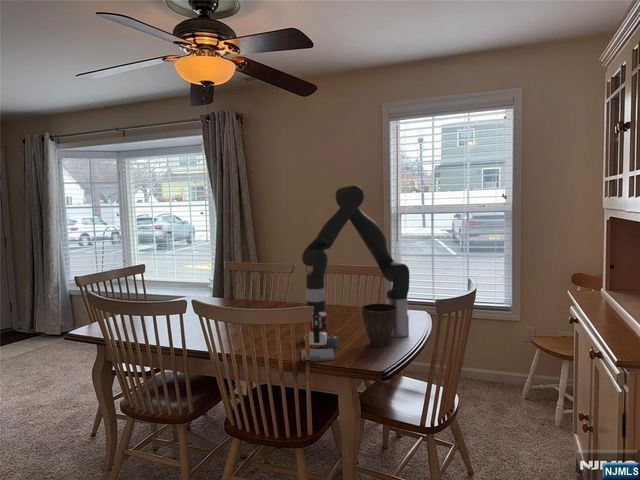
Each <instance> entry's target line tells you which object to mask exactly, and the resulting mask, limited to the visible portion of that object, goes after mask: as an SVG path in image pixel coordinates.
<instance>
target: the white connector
mask: <svg viewBox="0 0 640 480" xmlns="http://www.w3.org/2000/svg"><path fill="white" fill-rule="evenodd" d="M305 336H306V335H304V337H303V338H304V339H303V341H304V342H306V341H305ZM308 336H309V343H308V345H309V344H310V346H321V345H326V344H327V336H328V332H327V333H325V332H320V334H319V341H320V342H319V343H314V334H313V332H311V331H309V335H308Z"/></svg>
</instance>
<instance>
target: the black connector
mask: <svg viewBox="0 0 640 480" xmlns="http://www.w3.org/2000/svg"><path fill="white" fill-rule="evenodd" d="M338 339H339V338H338V336H336V335H327V344H326V345H320V346H321V348H320V349H323V348H324V349H325V348H327V349H332V348H333V349H337V348H338V347H339V343H338V342H339V340H338Z"/></svg>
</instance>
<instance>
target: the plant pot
mask: <svg viewBox="0 0 640 480" xmlns="http://www.w3.org/2000/svg"><path fill="white" fill-rule="evenodd" d="M396 310H397V307H396V306H393V305H390V304H387V303H369V304H364V305H362V306H361V313H362V319H363V323H364V328H365V331H366V334H367V337H368V340H369V342H370V344H371V345H372V346H375V347H385V346H388V345H389V343H390V340H391V337H392V336H391V334H392V331H393V327H394V323H395V317H396Z"/></svg>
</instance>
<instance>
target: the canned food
mask: <svg viewBox="0 0 640 480" xmlns="http://www.w3.org/2000/svg"><path fill="white" fill-rule="evenodd" d="M319 314H321V327H320V332H325V333H327V334H328V317H327V316H328V315H327V312H325V311H323V312H319ZM309 323H310V322H309ZM309 325H310V332H313V328H312V322H311V323H310V324H309Z"/></svg>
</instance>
